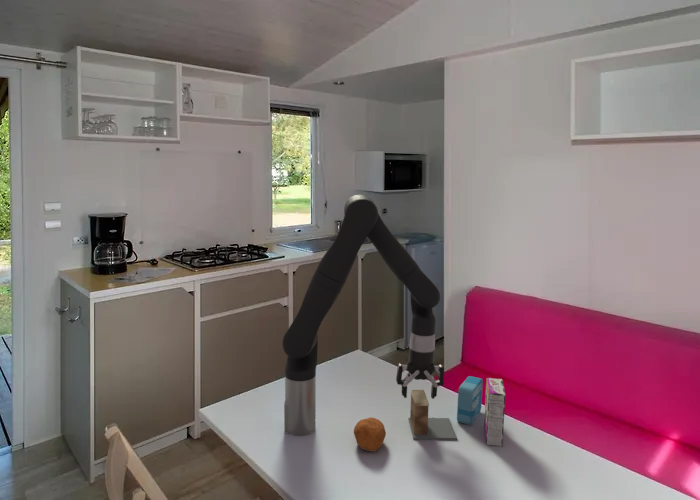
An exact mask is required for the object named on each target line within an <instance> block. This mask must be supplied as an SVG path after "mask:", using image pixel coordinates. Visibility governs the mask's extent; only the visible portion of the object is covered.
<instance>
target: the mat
mask: <svg viewBox="0 0 700 500" xmlns="http://www.w3.org/2000/svg"><path fill="white" fill-rule="evenodd" d="M408 423H409V428H410V433H411V435H412V438H413V440H420V441H421V440H425V441H426V440H427V441H429V440H430V441H433V440H435V441H436V440H438V441H441V440H442V441H449V440H450V441H451V440H452V441H457V440H458V436H457V433H456V432H455V431H456V430H455V429H454V427H453V424H452V422H451V420H450V418H449V417H428V431H427V434H414V432H413V428H412V424H411V421H410V417H408Z"/></svg>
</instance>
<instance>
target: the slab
mask: <svg viewBox="0 0 700 500" xmlns="http://www.w3.org/2000/svg"><path fill="white" fill-rule="evenodd" d="M429 407H430V402H429V400H428V398H427V394H426V391H425V389H410V413H409V414H410V416H409V418H410V421H411V424H412V428H413V432H414V434H427V431H428V418H429Z"/></svg>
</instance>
